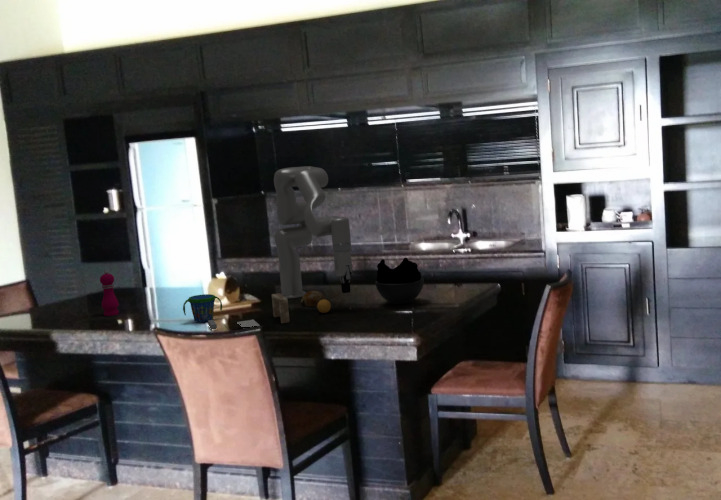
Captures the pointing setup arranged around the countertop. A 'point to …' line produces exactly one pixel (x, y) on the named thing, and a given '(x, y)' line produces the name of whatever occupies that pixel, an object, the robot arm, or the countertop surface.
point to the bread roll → (312, 298)
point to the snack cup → (202, 307)
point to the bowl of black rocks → (399, 282)
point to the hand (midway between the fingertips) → (346, 292)
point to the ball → (324, 306)
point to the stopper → (212, 324)
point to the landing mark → (248, 323)
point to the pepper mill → (109, 295)
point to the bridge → (280, 307)
